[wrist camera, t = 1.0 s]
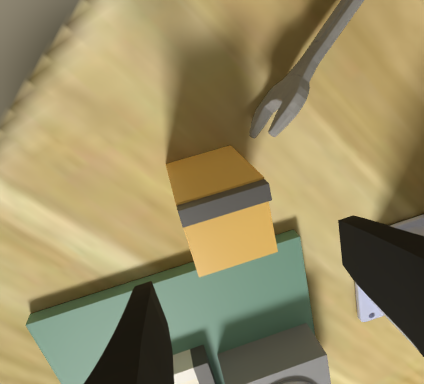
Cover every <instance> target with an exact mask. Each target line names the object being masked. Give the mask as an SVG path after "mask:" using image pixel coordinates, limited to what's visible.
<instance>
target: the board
mask: <svg viewBox="0 0 424 384" xmlns="http://www.w3.org/2000/svg"><path fill="white" fill-rule="evenodd" d="M275 239H276V244H277V249H278V252H276V253H273V254H270V255H267V256H264V257H261V258H258V259H254V260H251V261H248V262H245V263H242V264H239V265H236V266H233V267H230V268H227V269H224V270H221V271H218V272H215V273H211V274H208V275H205V276H202V277H199V276H198V273H197V270H196V267H195V264H194V262H191V263H188V264H185V265H182V266H179V267H175V268H172V269H169V270H166V271H163V272H160V273H157V274H154V275H150V276H147V277H144V278H141V279H138V280H135V281H132V282H129V283H126V284H122V285H119V286H116V287H113V288H110V289H107V290H104V291H101V292H97V293H94V294H91V295H88V296H85V297H82V298H79V299H76V300H73V301H69V302H66V303H63V304H60V305H57V306H54V307H51V308H48V309H44V310H41V311H38V312H35V313H32V314H30V316H29V318H28V321H27V323H26V327H27V328H28V330H29V332H30V333H31V335H32V337H33V338H34V340H35V342H36V343H37V345H38V346H39V348H40V350H41V351H42V353H43V355H44V356H45V358H46V360H47V361H48V363H49V364H50V366H51V368H52V369H53V371H54V373H55V374H56V376H57V378H58V379H59V381H60V382H61V384H84V382H85V381H86V380H87V378H88V376H89V375H90V373H91V372H92V370H93V369H94V367H95V366H96V364H97V362H98V361H99V359H100V357H101V355H102V354H103V352H104V350H105V348H106V346H107V344H108V343H109V341H110V339H111V337H112V335H113V333H114V331H115V329H116V327H117V325H118V323H119V321H120V318H121V316H122V314H123V312H124V310H125V307H126V305H127V303H128V300H129V298H130V295H131V293H132V290H133V288H134V287H135V286H137V285H140V284H143V283H146V282H149V281H152V283H153V286H154V289H155V291H156V294H157V296H158V299H159V302H160V304H161V307H162V309H163V312H164V315H165V317H166V320H167V322H168V327H169V332H170V338H171V344H172V351H173V368H174V384H331V381H330V374H329V367H328V360H327V354H326V353H325V351H324V350H323V348H322V346H321V345H320V343H319V342H318V340H317V338H316V337H315V331H314V325H313V318H312V312H311V305H310V299H309V292H308V286H307V279H306V273H305V266H304V260H303V253H302V247H301V241H300V236H299V235H298V234H297V233H296V232H295V231H294V230H291V231H288V232H284V233H281V234H278V235H275Z"/></svg>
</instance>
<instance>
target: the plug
mask: <svg viewBox="0 0 424 384" xmlns="http://www.w3.org/2000/svg"><path fill="white" fill-rule="evenodd" d="M166 167H167V171H168V175H169V179H170V183H171V187H172V191H173V195H174V198H175V202H176V206H177V210H178V213H179V216H180V220H181V223H182V226H183V228H184V231H185V235H186V238H187V241H188V244H189V248H190V251H191V254H192V257H193V260H194V264H195V267H196V270H197V273H198V276H199V277H202V276H205V275H208V274H211V273H215V272H218V271H221V270H224V269H227V268H230V267H233V266H236V265H239V264H242V263H245V262H248V261H251V260H254V259H258V258H261V257H264V256H267V255H270V254H273V253H276V252H278V249H277V244H276V239H275V233H274V228H273V223H272V218H271V212H270V207H269V202H268V201H271V200H272V197H271V192H270V187H269V183H268V182H267V181H266V180H265V179H264V177H263V176H262V175H261V174H260V173H259V172H258V171H257V170H256V169H255V168H254V167H253V166H252V165H251V164H250V163H249V162H248V161H247V160H246V159H244V158H243V157H242V156H241V155H240V154H239V153H238V152H237V151H236V150H235V149H234V148H233V147H232V146H231V145H229V146H226V147H223V148H219V149H216V150H212V151H209V152H205V153H202V154H199V155H195V156H192V157H188V158H185V159H181V160H178V161H175V162H171V163H168V164H166Z"/></svg>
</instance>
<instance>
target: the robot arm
mask: <svg viewBox="0 0 424 384" xmlns="http://www.w3.org/2000/svg"><path fill="white" fill-rule="evenodd" d="M338 223H339V233H340V243H341V253H342V263H343V266H344V267H345V269H346V270H347V271H348V273H349V274H350V276H351V277H352V278H353V280H354V281H355V289H356V301H357V314H358V318H359V319H360V321H362V322H367V321H370V320H372V319H375V318H378V317H381V316H384V315H385V316H386V317H387V318H388V319H389V320H390V321H391V322H392V323H393V325H394V326H395V327H396V328H397V329H398V330H399V331H400V332H401V333H402V334H403V335H404V336H405V337H406V338H407V339H408V340H409V341H410V342H411V343H412V344H413V346H414V347H415V348H416V349H417V350H418V351H419V352H420V353H421V354H422V355H423V357H424V214H423V215H420V216H417V217H414V218H411V219H408V220H405V221H402V222H399V223H396V224H393V225H390V226H388V225H385V224H381V223H378V222H375V221H372V220H368V219H365V218H361V217H357V216H350V217H347V218H344V219H341V220H338ZM84 384H174V368H173V351H172V344H171V338H170V332H169V327H168V322H167V320H166V317H165V315H164V312H163V309H162V307H161V304H160V302H159V299H158V296H157V294H156V291H155V289H154V286H153V283H152V281H149V282H146V283H143V284H140V285H137V286H135V287H134V288H133V290H132V293H131V295H130V298H129V300H128V303H127V305H126V307H125V310H124V312H123V314H122V316H121V318H120V321H119V323H118V325H117V327H116V329H115V331H114V333H113V335H112V337H111V339H110V341H109V343H108V344H107V346H106V348H105V350H104V352H103V354H102V355H101V357H100V359H99V361H98V362H97V364H96V366H95V367H94V369H93V370H92V372H91V373H90V375H89V376H88V378H87V380H86V381H85V382H84Z"/></svg>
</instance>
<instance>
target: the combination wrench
mask: <svg viewBox="0 0 424 384" xmlns="http://www.w3.org/2000/svg"><path fill="white" fill-rule="evenodd" d="M363 1H364V0H341V1H340V3H339V4H338V5H337V7H336V8H335V10H334V11H333V13H332V14H331V15H330V17H329V18H328V20H327V21H326V23H325V24H324V26H323V27H322V28H321V30H320V31H319V33H318V34H317V36H316V37H315V39H314V40H313V42H312V43H311V45H310V46H309V47H308V49H307V50H306V52H305V53H304V55H303V56H302V58H301V59H300V60H299V61H298V63H297V64H296V65H295V66H294V67H293V69H292V70H291V71H290V72H289V73H288V74H287V75H286V76H285V78H284V79H283V80H282V81H280V82H279V83H277V84H276V85H274V86H273V87H272V88H271V89H270V91H269V92H268V93H267V95H266V96H265V98H264V99H263V101H262V102H261V103H260V105H259V106H258V108H257V109H256V111H255V114H254V117H253V120H252V124H251V128H250V136H251V137H252V138H256V137H257V135H258V134H259V133H260V131H261V130H262V129H263V127H264V126H265V125H266V123H267V121H268V120H269V118H270V117H271V115H272V114H273V113H274V112H275V111H276V110H278V111H277V113H276V115H275V117H274V120H273V122H272V124H271V126H270V129H269V131H268V133H269V134H270V135H271V136H273V137H276V136H277V135H278V134H279V133H280V132H281V131H282V130H283V129H284V128H285V127H286V126H287V125H288V124H289V123H290V122H291V121H292V120H293V119H294V118H295V117H296V115H297V114H298V113H299V111H300V110H301V108H302V107H303V105H304V103H305V101H306V99H307V96H308V93H309V88H310V87H309V82H310V80H311V78H312V76H313V74H314V72H315V70H316V68H317V66H318V64H319V63H320V61H321V60H322V59H323V57H324V56H325V54H326V53H327V52H328V50H329V49H330V47H331V46H332V45H333V43H334V42H335V40H336V39H337V38H338V36H339V35H340V33H341V32H342V31H343V29H344V28H345V26H346V25H347V24H348V22H349V21H350V19H351V18H352V17H353V15H354V14H355V12H356V11H357V10H358V8H359V7H360V5H361V4H362V3H363Z"/></svg>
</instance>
